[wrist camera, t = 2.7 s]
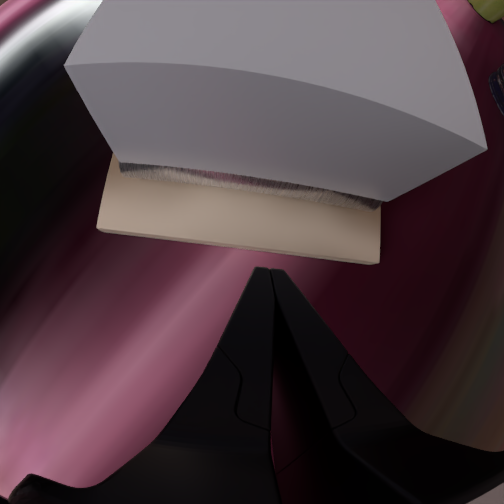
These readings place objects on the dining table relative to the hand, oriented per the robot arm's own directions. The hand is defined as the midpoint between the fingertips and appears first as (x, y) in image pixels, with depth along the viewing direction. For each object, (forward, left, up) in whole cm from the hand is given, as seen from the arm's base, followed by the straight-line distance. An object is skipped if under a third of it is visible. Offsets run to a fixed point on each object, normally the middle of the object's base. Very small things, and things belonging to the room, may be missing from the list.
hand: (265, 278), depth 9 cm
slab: (+6, -6, -3) cm, 9 cm away
